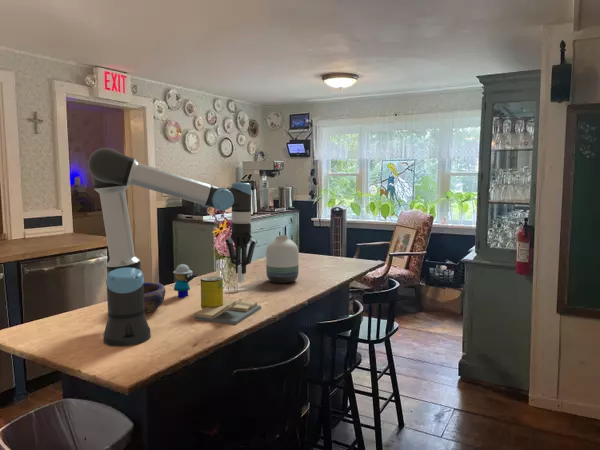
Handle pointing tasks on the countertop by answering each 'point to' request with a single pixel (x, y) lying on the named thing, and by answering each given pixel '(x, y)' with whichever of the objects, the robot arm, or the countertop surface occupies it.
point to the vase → (282, 260)
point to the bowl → (153, 296)
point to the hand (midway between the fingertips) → (240, 281)
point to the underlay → (225, 313)
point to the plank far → (244, 306)
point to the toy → (183, 280)
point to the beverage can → (211, 292)
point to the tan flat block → (227, 308)
